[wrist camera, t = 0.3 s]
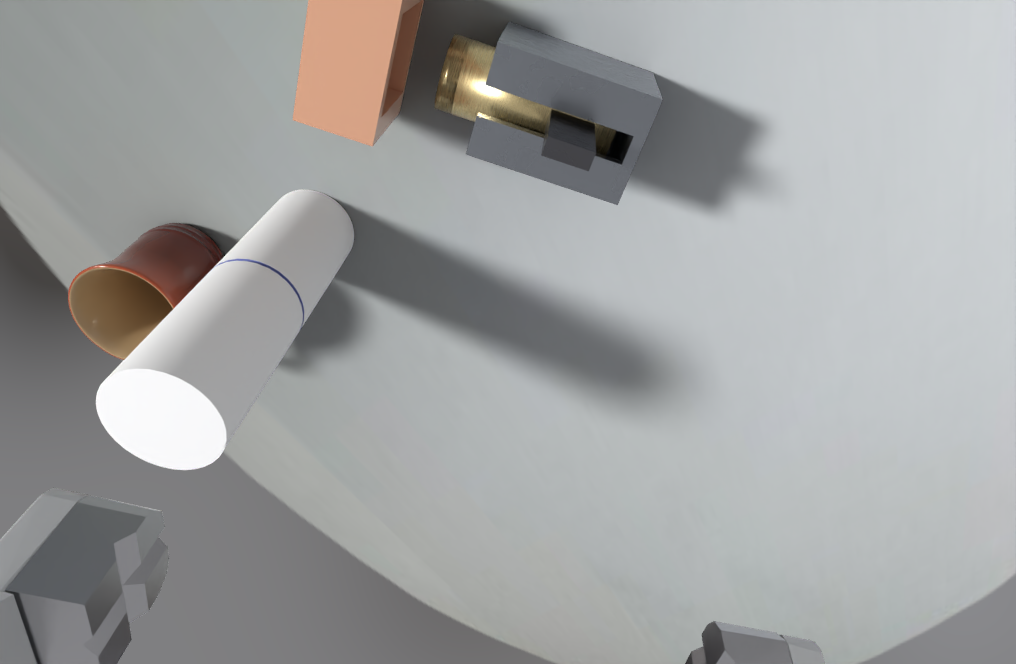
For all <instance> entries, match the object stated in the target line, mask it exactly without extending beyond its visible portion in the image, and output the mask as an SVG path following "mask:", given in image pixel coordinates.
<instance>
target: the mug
mask: <svg viewBox="0 0 1016 664" xmlns="http://www.w3.org/2000/svg"><path fill="white" fill-rule="evenodd" d="M222 258H223V255H222V253H221V251H220V249H219V248H218V246H217V245H216V244H215V242H214V241H213V240H212V239H211V238H210V237H209V236H207V235H206V234H205V233H203V232H202V231H200V230H198V229H196V228H194V227H192V226H189V225H186V224H181V223H169V224H165V225H162V226H158V227H155V228H153V229H151V230H149V231H148V232H146V233H144V234H143V235H141V236H140V237H139V238H138V240H136V241H135V242H134V243H133V244H131V245H130V246H129V247H128V248H127V249H126V250H125V251H124V252H122V253H121V254H120V255H119V256H118V257H117V258H116V259H114V260H112V261H109V262H106V263H103V264H99V265H95V266H92V267H89V268H87V269H85V270H83V271H81V272H80V273H79V274H78V275H77V276H76V277H75V278H74V279H73V281H72V283H71V285H70V287H69V292H68V302H69V307H70V311H71V313H72V316H73V318H74V320H75V322H76V323H77V325H78V326H79V328H80V329H81V330H82V332H83V333H84V334H85V335H86V336H87V337H88V338H89V339H90V340H91V341H92V342H93V343H94V344H96V345H97V346H98V347H100V348H101V349H102V350H104V351H105V352H107V353H109V354H110V355H112V356H114V357H117V358H120V359H122V360H125V359H126V358H127V357H128V356H129V355H130V354H131V352H132V351H133V350H134V349H135V348H136V347H137V346H138V345H139V344H140V343H141V342H142V341H143V340H144V339H145V338H146V337H147V336H148V335H149V334H150V333H151V332H152V331H153V330H154V329H155V328H156V327H157V326H158V324H159V323H160V322H161V321H162V320H163V319H164V318H165V317H166V316H167V315H168V314H169V313H170V312H171V311H172V310H173V309H174V308H175V307H176V306H177V305H178V304H179V303H180V302H181V301H182V300H183V299H184V298H185V297H186V295H187V294H188V293H189V292H190V291H191V290H192V289H193V288H194V287H195V286H196V285H197V284H198V283H199V282H200V281H201V280H202V279H203V278H204V277H205V276H206V275H207V274H208V273H209V272H210V271H211V270H212V269H213V268H214V266H215V265H216V264H217V263H218V262H219V261H220V260H221V259H222Z"/></svg>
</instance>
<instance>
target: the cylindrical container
mask: <svg viewBox="0 0 1016 664" xmlns="http://www.w3.org/2000/svg"><path fill="white" fill-rule="evenodd" d="M353 243H354V229H353V225H352V222H351V219H350V218H349V216H348V214H347V212H346V211H345V210H344V209H343V207H342V206H341V205H340V204H339V203H338V202H336V201H335V200H334V199H332V198H331V197H329V196H328V195H325V194H323V193H321V192H318V191H313V190H296V191H292V192H290V193H287V194H286V195H284V196H283V197H281V198H280V200H279V201H278V202H277V203H276V204H275V205H274V206H273V207H272V208H271V209H270V210H269V211H268V212H267V213H266V214H265V215H264V216H263V217H262V218H261V219H260V220H259V221H258V222H257V223H256V224H255V225H254V226H253V227H252V228H251V229H250V230H249V231H248V233H247V234H246V235H245V236H244V237H243V238H242V239H241V240H240V241H239V242H238V243H237V244H236V245H235V246H234V247H233V248H232V249H231V250H230V251H229V252H228V253H227V254H226V255H225V256H224V257H223V258H222V259H221V260H220V261H219V262H218V263H217V264H216V265H215V266H214V268H213V269H212V270H211V271H210V272H209V273H208V274H207V275H206V276H205V277H204V278H203V279H202V280H201V281H200V282H199V283H198V284H197V285H196V286H195V287H194V288H193V289H192V290H191V291H190V292H189V293H188V294H187V295H186V297H185V298H184V299H183V300H182V301H181V302H180V303H179V304H178V305H177V306H176V307H175V308H174V309H173V310H172V311H171V312H170V313H169V314H168V315H167V316H166V317H165V318H164V319H163V320H162V321H161V322H160V323H159V324H158V326H157V327H156V328H155V329H154V330H153V331H152V332H151V333H150V334H149V335H148V336H147V337H146V338H145V339H144V340H143V341H142V342H141V343H140V344H139V345H138V346H137V347H136V348H135V349H134V350H133V351H132V352H131V354H130V355H129V356H128V357H127V358H126V359H125V360H124V361H123V362H122V363H121V364H120V365H119V366H118V367H117V368H116V369H115V370H114V371H113V372H112V373H111V374H110V375H109V376H108V377H107V378H106V380H105V381H104V382H103V383H102V384H101V385H100V388H99V389H98V392H97V396H96V407H97V413H98V415H99V418H100V420H101V422H102V424H103V426H104V427H105V429H106V430H107V432H108V433H109V434H110V435H111V436H112V437H113V439H114V440H115V441H116V442H117V443H119V444H120V445H121V446H122V447H123V448H124V449H126V450H127V451H129V452H130V453H132V454H133V455H135V456H137V457H139V458H141V459H143V460H145V461H147V462H149V463H152V464H155V465H158V466H161V467H165V468H170V469H179V470H189V469H197V468H201V467H205V466H207V465H209V464H211V463H212V462H214V461H215V460H216V459H217V458H219V457H220V455H221V454H222V452H223V450H224V449H225V447H226V446H227V444H228V443H229V441H230V440H231V438H232V436H233V435H234V433H235V432H236V430H237V429H238V427H239V426H240V424H241V422H242V421H243V419H244V418H245V416H246V415H247V413H248V412H249V410H250V408H251V407H252V405H253V404H254V402H255V401H256V399H257V397H258V396H259V394H260V393H261V391H262V390H263V388H264V387H265V385H266V383H267V382H268V380H269V379H270V377H271V376H272V374H273V372H274V371H275V369H276V368H277V366H278V364H279V363H280V361H281V360H282V358H283V356H284V355H285V353H286V352H287V350H288V349H289V347H290V345H291V344H292V342H293V341H294V339H295V337H296V336H297V334H298V333H299V331H300V330H301V328H302V326H303V325H304V323H305V322H306V320H307V319H308V317H309V316H310V314H311V312H312V311H313V309H314V308H315V306H316V305H317V303H318V302H319V300H320V298H321V297H322V295H323V294H324V292H325V291H326V289H327V288H328V286H329V284H330V283H331V281H332V280H333V278H334V276H335V275H336V273H337V272H338V270H339V269H340V267H341V265H342V264H343V262H344V261H345V259H346V257H347V256H348V254H349V253H350V251H351V249H352V246H353Z"/></svg>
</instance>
